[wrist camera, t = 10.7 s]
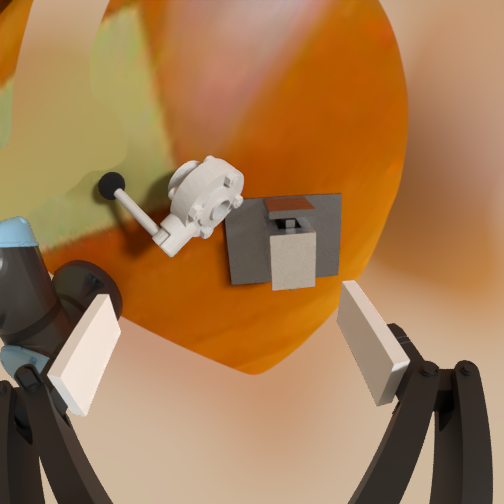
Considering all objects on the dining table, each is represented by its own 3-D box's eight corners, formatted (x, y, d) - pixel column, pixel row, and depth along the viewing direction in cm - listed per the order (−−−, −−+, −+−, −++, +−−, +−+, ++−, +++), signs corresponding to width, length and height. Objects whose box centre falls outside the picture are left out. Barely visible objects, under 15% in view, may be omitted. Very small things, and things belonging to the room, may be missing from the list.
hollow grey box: (267, 269, 47) (272, 293, 40) (264, 218, 44) (269, 236, 37) (303, 265, 47) (314, 289, 40) (303, 215, 44) (316, 232, 37)
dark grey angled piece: (231, 283, 49) (231, 308, 42) (223, 200, 43) (220, 214, 36) (336, 273, 49) (351, 296, 42) (340, 193, 43) (358, 205, 36)
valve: (251, 200, 42) (178, 275, 39) (174, 142, 47) (110, 203, 44) (247, 160, 33) (151, 253, 30) (157, 101, 37) (79, 171, 34)
